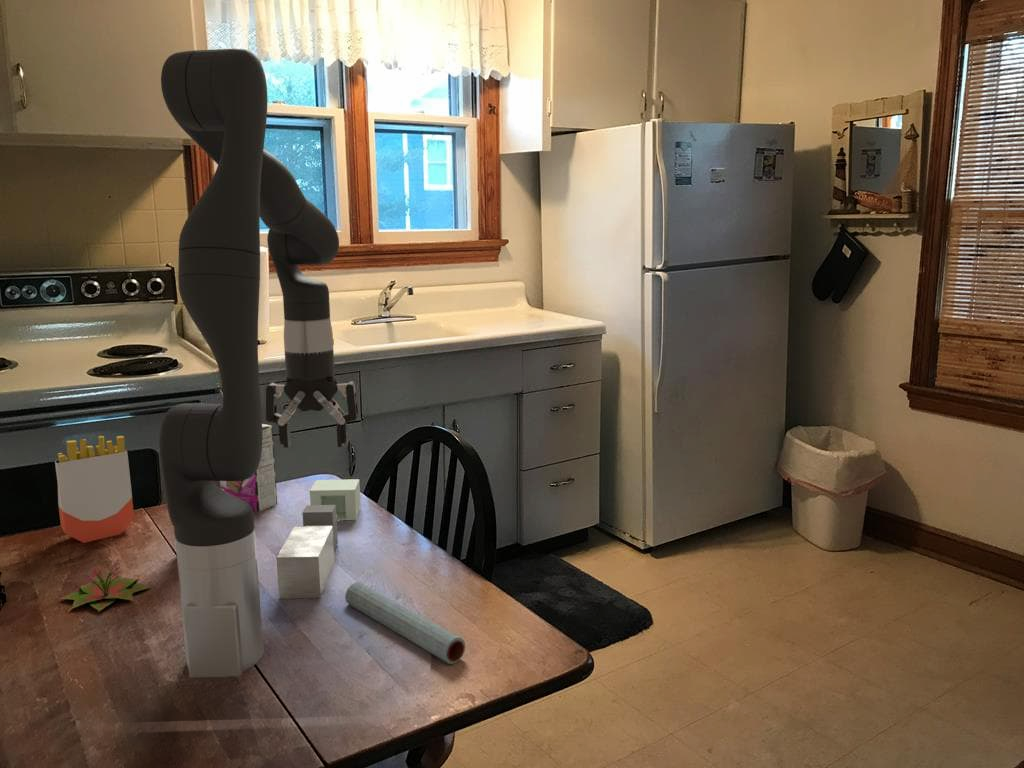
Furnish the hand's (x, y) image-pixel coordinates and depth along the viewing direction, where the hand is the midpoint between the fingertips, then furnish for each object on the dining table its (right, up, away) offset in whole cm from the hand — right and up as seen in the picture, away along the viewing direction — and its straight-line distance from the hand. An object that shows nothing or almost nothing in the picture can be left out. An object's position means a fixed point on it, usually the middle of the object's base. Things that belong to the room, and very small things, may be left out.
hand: (314, 446), depth 134 cm
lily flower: (-28, -22, -11) cm, 37 cm away
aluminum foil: (+16, -24, -23) cm, 37 cm away
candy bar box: (-19, -14, +25) cm, 34 cm away
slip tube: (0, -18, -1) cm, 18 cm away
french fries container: (-40, -17, +11) cm, 45 cm away
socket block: (0, -15, +19) cm, 24 cm away
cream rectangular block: (+1, -20, -7) cm, 21 cm away
